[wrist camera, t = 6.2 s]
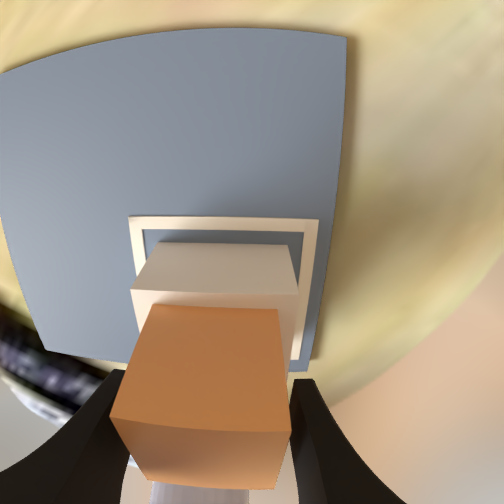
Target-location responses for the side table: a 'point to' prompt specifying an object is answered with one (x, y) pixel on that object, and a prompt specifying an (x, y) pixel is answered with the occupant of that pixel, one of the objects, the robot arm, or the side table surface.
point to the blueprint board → (166, 169)
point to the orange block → (206, 398)
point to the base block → (220, 281)
